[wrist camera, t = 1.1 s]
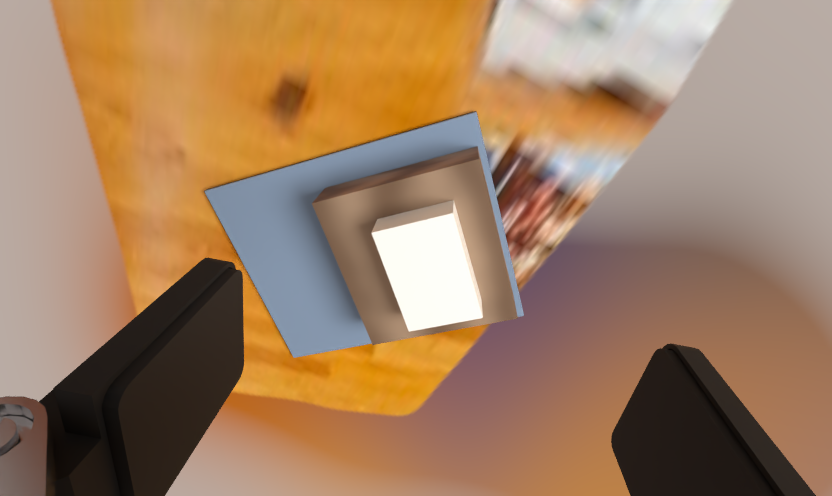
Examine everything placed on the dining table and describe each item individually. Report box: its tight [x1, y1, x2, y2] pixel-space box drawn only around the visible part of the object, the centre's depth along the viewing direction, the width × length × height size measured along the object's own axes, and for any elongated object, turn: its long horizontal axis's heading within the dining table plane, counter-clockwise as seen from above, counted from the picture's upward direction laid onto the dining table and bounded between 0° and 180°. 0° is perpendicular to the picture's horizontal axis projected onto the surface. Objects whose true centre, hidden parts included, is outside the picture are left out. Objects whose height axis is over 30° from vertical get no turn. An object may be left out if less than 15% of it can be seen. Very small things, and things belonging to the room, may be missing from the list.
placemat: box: [204, 112, 524, 358], centre depth 39 cm, size 24×19×1 cm
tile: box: [372, 200, 483, 332], centre depth 33 cm, size 6×9×2 cm, turn 17°
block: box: [312, 146, 518, 345], centre depth 36 cm, size 13×14×4 cm
